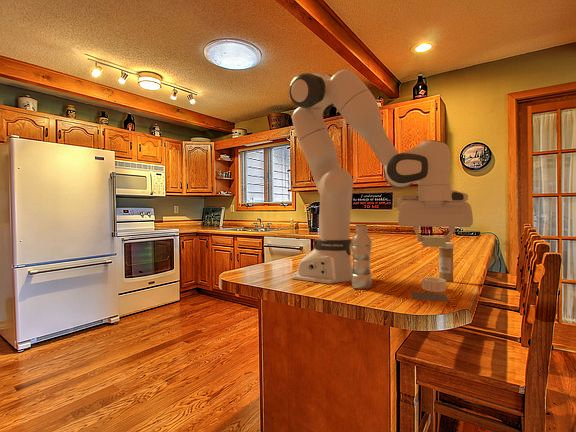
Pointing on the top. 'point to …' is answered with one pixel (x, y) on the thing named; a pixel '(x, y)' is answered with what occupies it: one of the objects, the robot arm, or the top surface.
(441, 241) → the cover
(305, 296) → the top surface
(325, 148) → the robot arm
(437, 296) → the mat
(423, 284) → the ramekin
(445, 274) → the sprinkles bottle
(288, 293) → the top surface
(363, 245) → the plastic bottle
